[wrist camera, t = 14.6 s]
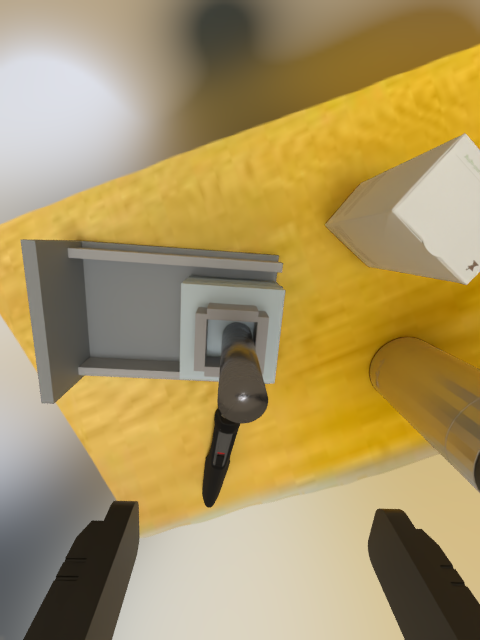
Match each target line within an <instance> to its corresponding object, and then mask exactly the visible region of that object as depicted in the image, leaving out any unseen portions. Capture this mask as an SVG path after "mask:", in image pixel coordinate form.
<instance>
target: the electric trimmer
mask: <svg viewBox="0 0 480 640" xmlns="http://www.w3.org/2000/svg"><path fill="white" fill-rule="evenodd" d="M214 420H215V427H214V433H213V440H212V445H211V449H210V453H209V455H208V456H207V457H206V461H205V470H204V479H203V491H202V494H203V499H204V503H205V505H206V506H207V507H212V506H213V505H214V503H215V501H216V499H217V497H218V495H219V492H220V490H221V487H222V484H223V481H224V478H225V475H226V473H227V470H228V467H229V463H230V455H231V451H232V448H233V445H234V441H235V438H236V435H237V431H238V428H239V426H240V423H235V422H232V421H230V420H228V419H227V418H225V417H224V416H223V415H222V413H221V412H220V410H219V408H218V409H217V410H216V413H215V419H214Z"/></svg>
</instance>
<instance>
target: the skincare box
mask: <svg viewBox="0 0 480 640" xmlns="http://www.w3.org/2000/svg"><path fill="white" fill-rule="evenodd" d="M325 226H326V227H327V228H328V229H329V230H330V231H331V232H332V233H333V234H334V235H335V236H336V237H337V238H338V239H339V240H340V241H342V242H343V243H344V244H345V245H346V246H347V247H348V248H349V249H350V250H351V251H352V252H353V253H354V254H355V255H356V256H357V257H358V258H359V259H360V260H361V261H363V262H364V263H365V264H366V265H367V266H368V267H373V268H379V269H385V270H391V271H396V272H402V273H408V274H413V275H419V276H424V277H430V278H435V279H441V280H447V281H452V282H457V283H461V284H465V285H467V284H468V283H469V282H470V281H471V280H472V279H473V278H474V277H475V276H476V275H477V274H478V273H479V272H480V150H479V149H478V148H477V146H476V145H475V144H474V143H473V142H472V140H471V139H470V138H469V137H468V136H467V135H466V134H465V133H464V134H463V135H461V136H459V137H457V138H455V139H453V140H451V141H448V142H446V143H444V144H442V145H440V146H438V147H436V148H434V149H432V150H430V151H428V152H426V153H423V154H421V155H419V156H417V157H415V158H413V159H411V160H409V161H407V162H405V163H402V164H400V165H398V166H396V167H394V168H392V169H390V170H388V171H386V172H383V173H381V174H379V175H377V176H375V177H373V178H371V179H369V180H367V181H365V182H362V183H361V184H360V185H359V186H358V187H357V188H356V189H355V190H354V191H353V193H352V194H351V195H350V196H349V197H348V198H347V200H346V201H345V202H344V203H343V204H342V205H341V207H340V208H339V209H338V210H337V211H336V212H335V214H334V215H333V216H332V217H331V218H330V219H329V221H328V222H327V223H326V224H325Z"/></svg>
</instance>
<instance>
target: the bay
mask: <svg viewBox="0 0 480 640" xmlns="http://www.w3.org/2000/svg"><path fill="white" fill-rule="evenodd" d="M21 246H22V254H23V262H24V270H25V278H26V285H27V293H28V301H29V309H30V316H31V324H32V332H33V340H34V347H35V355H36V363H37V371H38V379H39V386H40V394H41V402H42V403H50V404H54V403H55V402H56V401H57V400H58V399H60V398H61V397H62V396H63V395H64V394H65V393H66V392H67V391H68V390H69V389H70V388H71V387H73V386H74V385H75V384H76V383H77V382H78V381H79V380H80V379H81V378H82V377H83V376H85V375H89V376H110V377H132V378H153V379H175V380H190V379H180V324H181V283H182V282H183V280H186V279H187V278H188V276H190V275H195V276H210V277H225V278H239V279H254V280H269V281H275V282H276V278H277V272H281V273H282V267H283V263H281V262H278V259H279V256H278V255H267V254H253V253H240V252H226V251H212V250H199V249H185V248H171V247H158V246H144V245H130V244H117V243H103V242H89V241H76V240H21ZM196 381H212V380H196ZM218 382H219V381H218ZM264 384H270V383H264Z"/></svg>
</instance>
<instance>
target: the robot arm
mask: <svg viewBox="0 0 480 640" xmlns="http://www.w3.org/2000/svg"><path fill="white" fill-rule="evenodd" d="M370 380H371V382H372V385H373V386H374V388H375V389H376V390H377V391H378V392H379V393H380V394H381V395H382V396H383V397H384V398H385V399H386V400H387V401H388V402H389V403H390V404H391V405H392V406H393V407H394V408H395V409H396V410H397V411H398V412H399V413H400V414H401V415H402V416H403V417H404V418H405V419H406V420H407V421H408V422H409V423H410V424H411V425H412V426H413V427H414V428H415V429H416V430H417V431H418V432H419V433H420V434H421V435H422V436H423V437H424V438H425V439H426V440H427V441H428V442H429V443H430V444H431V445H432V446H433V447H434V448H435V449H436V450H437V451H438V452H439V453H440V454H441V455H442V456H443V457H444V458H445V459H446V460H447V461H448V462H449V463H450V464H451V465H452V466H453V467H454V468H455V469H456V470H457V471H458V472H459V473H460V474H461V475H462V476H463V477H464V478H465V479H467V480H468V482H469V483H470V484H471V485H472V486H474V488H476V489H477V490H478V491H479V492H480V369H478V368H476V367H474V366H472V365H470V364H468V363H466V362H464V361H462V360H460V359H458V358H456V357H454V356H452V355H450V354H448V353H446V352H444V351H442V350H440V349H438V348H436V347H434V346H432V345H430V344H428V343H426V342H424V341H422V340H420V339H417V338H414V337H403V338H398V339H395V340H392V341H391V342H389V343H387V344H386V345H384V346H383V347H382V348H381V349H380V350H379V351H378V352H377V353H376V355H375V356H374V358H373V360H372V363H371V366H370ZM138 544H139V505H138V502H137V501H114V502H113V503H112V504H111V506H110V508H109V511H108V513H107V515H106V517H105V519H104V521H91V522H90V523H89V525H87V527H86V528H85V529H84V530H83V531H82V532H81V533H80V534H79V535H78V536H77V537H76V539H75V541H74V543H73V545H72V547H71V549H70V551H69V553H68V554H67V556H66V560H65V562H64V563H63V564H62V566H61V568H60V570H59V572H58V574H57V576H56V579H55V581H53V583H52V585H51V587H50V589H49V591H48V593H47V595H46V597H45V599H44V601H43V602H42V604H41V607H40V608H39V610H38V612H37V614H36V616H35V618H34V620H33V622H32V624H31V626H30V628H29V629H28V632H27V633H26V635H25V637H24V639H23V640H112V637H113V634H114V630H115V627H116V623H117V620H118V617H119V613H120V610H121V607H122V603H123V600H124V596H125V593H126V590H127V587H128V583H129V580H130V576H131V573H132V570H133V566H134V563H135V559H136V556H137V550H138ZM368 552H369V557H370V560H371V563H372V566H373V568H374V571H375V573H376V575H377V577H378V580H379V582H380V584H381V586H382V589H383V591H384V593H385V595H386V597H387V600H388V602H389V604H390V607H391V609H392V611H393V614H394V616H395V618H396V620H397V622H398V625H399V627H400V630H401V632H402V634H403V636H404V638H405V640H480V604H479V603H478V601H477V600H476V598H475V597H474V596H473V594H472V593H471V591H470V590H469V588H468V587H466V586H465V584H464V581H463V580H462V578H461V577H460V575H459V574H458V572H457V571H456V569H453V565H452V564H451V562H450V561H449V559H448V558H447V556H446V555H445V554H444V552H443V551H442V549H441V548H440V546H439V545H438V544H437V543H436V542H435V541H434V540H433V539H432V538H430V537H429V536H428V535H427V534H426V533H425V532H424V531H423V530H422V529H416V528H415V527H414V525H413V524H412V522H411V521H410V519H409V518H408V516H407V515H406V513H405V512H404V511H402V510H400V509H377V510H376V513H375V516H374V520H373V524H372V528H371V532H370V536H369V540H368Z"/></svg>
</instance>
